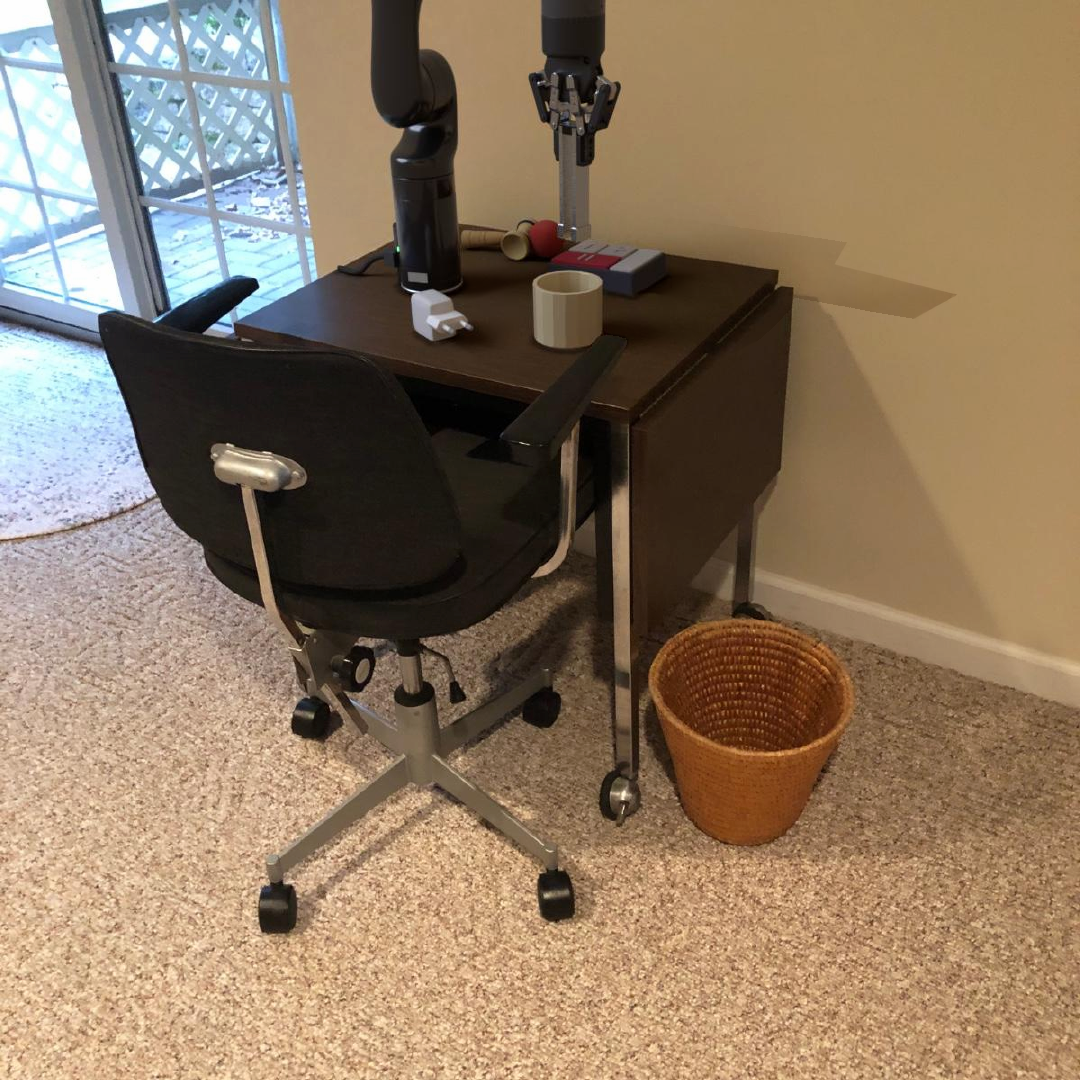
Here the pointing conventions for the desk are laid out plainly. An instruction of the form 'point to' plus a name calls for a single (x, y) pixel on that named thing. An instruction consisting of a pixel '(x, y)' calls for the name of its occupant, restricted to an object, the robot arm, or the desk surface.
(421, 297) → the power adapter
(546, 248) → the kendama
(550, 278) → the crock
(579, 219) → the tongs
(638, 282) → the calculator
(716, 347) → the desk surface
